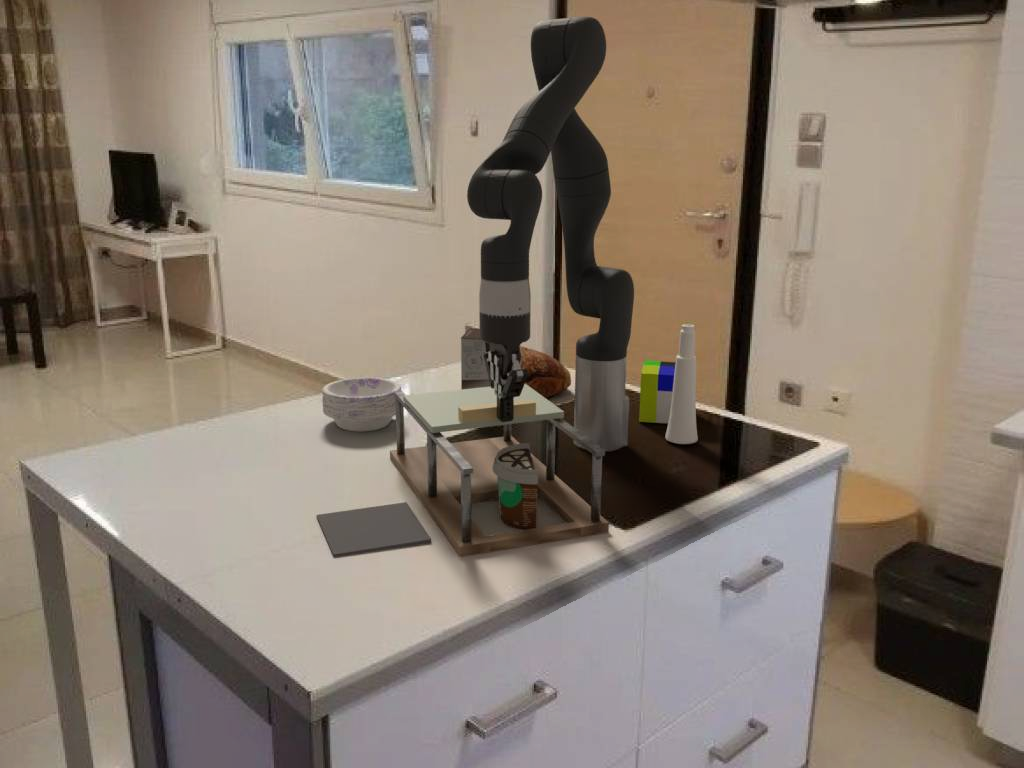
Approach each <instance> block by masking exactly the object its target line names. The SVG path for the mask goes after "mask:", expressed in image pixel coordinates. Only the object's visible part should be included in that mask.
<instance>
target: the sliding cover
mask: <svg viewBox="0 0 1024 768" xmlns="http://www.w3.org/2000/svg"><path fill="white" fill-rule="evenodd" d="M403 401H404V402H405V403H406V405H407V406H408V407H409V408H410V409H411V410H412V411H413V412H414V414H415V415H416V416H417V417H418V418H419V419H420V420H421V421H422V423H423V424H424V425H425V426H426V427H427V428H428V429H429V430H430V431H431V433H438V432H440V433H445V432H454V431H461V430H462V431H463V430H471V429H479V428H486V427H488V428H489V427H495V426H504V425H506V424H511V425H512V424H522V423H529V422H531V423H532V422H539V421H547V420H549V419H557V418H562V419H564V418H565V411H564V410H562V409H561V408H560V407H558V406H557V405H555V403H553V402H552V401H550V400H548V398H547V397H543V396H542V395H540V394H539V393H537V392H536V391H535V390H533V389H532V388H531V387H529V386H528V385H526V384H524V387H523V389H522V392H521V395H520V396H518V397H514V418H513V420H512V421H508V422H501V421H500V420H499V419H497V396H496V395H495V393H494V389H492V388H491V387H481V388H472V389H462V390H461V389H454V390H445V391H444V390H443V391H434V392H425V393H424V392H423V393H415V394H405V395H403Z"/></svg>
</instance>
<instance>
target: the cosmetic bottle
mask: <svg viewBox="0 0 1024 768" xmlns="http://www.w3.org/2000/svg"><path fill="white" fill-rule="evenodd" d="M681 328H682V329H681V330H680V331H679V345H678V354H677V355H676V358H675V362H676V364H675V373H674V383H673V393H672V402H671V410H670V417H669V422H668V424H667V428H666V431H665V436H664V437H665V439H666V441H667V442H670V443H672V444H673V443H674V444H676V445H677V444H678V445H692V444H694V443H697V442H698V440H699V437H698V429H697V413H696V411H697V410H696V408H697V406H696V404H697V402H696V401H697V400H696V399H697V398H696V397H697V391H696V389H697V356H695V347H696V345H695V344H696V331H695V330H694V329H695V325H694V324H689V323H688V324H682V325H681Z"/></svg>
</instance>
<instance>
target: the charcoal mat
mask: <svg viewBox="0 0 1024 768" xmlns="http://www.w3.org/2000/svg"><path fill="white" fill-rule="evenodd" d="M316 519H317V521H318V524H319V526H320V528H321V531H322V533H323V535H324V538H325V540H326V542H327V545H328V546H329V549H330V551H331V554H332V557H333V558H338V557H343V556H345V557H346V556H350V555H358V554H364V553H372V552H378V551H385V550H390V549H398V548H404V547H411V546H417V545H425V544H432V538H431V536H430V534H428V532H427V531H426V529H425V527H424V526H423V524H422V523H421V522H420V520H419V518H418V517H417V516H416V514H415V513H414V511H413V509H412V508H411V507H410V505H409V504H408V502H407V501H404V502H398V503H390V504H384V505H378V506H370V507H362V508H357V509H348V510H343V511H342V510H341V511H335V512H329V513H319V514H316Z"/></svg>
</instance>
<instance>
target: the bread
mask: <svg viewBox="0 0 1024 768" xmlns="http://www.w3.org/2000/svg"><path fill="white" fill-rule="evenodd" d="M520 352H521V355H522V364H521V365H520V367H521V369H527V371H528V377H527V379H526V382H525V384H526V385H528V386H529V387H531V388H532V389H533V390H535V391H536V392H537V393H539V394H540V395H542V396H543V397H544V398H548V397H550V396H555V395H557V394H558V393H561V392H563V391H567V389H568V388H569V387H571V385H572V379H571V378H572V377H571V372H570V371H569V370H568V368H566V367H565V366H564V364H563V363H562V362H561V361H559V360H557V359H556V358H554V357H553V356H551V355H549V354H547V353H545V352H542V351H539V350H535V349H531V348H528V347H525V346H521V345H520Z"/></svg>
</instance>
